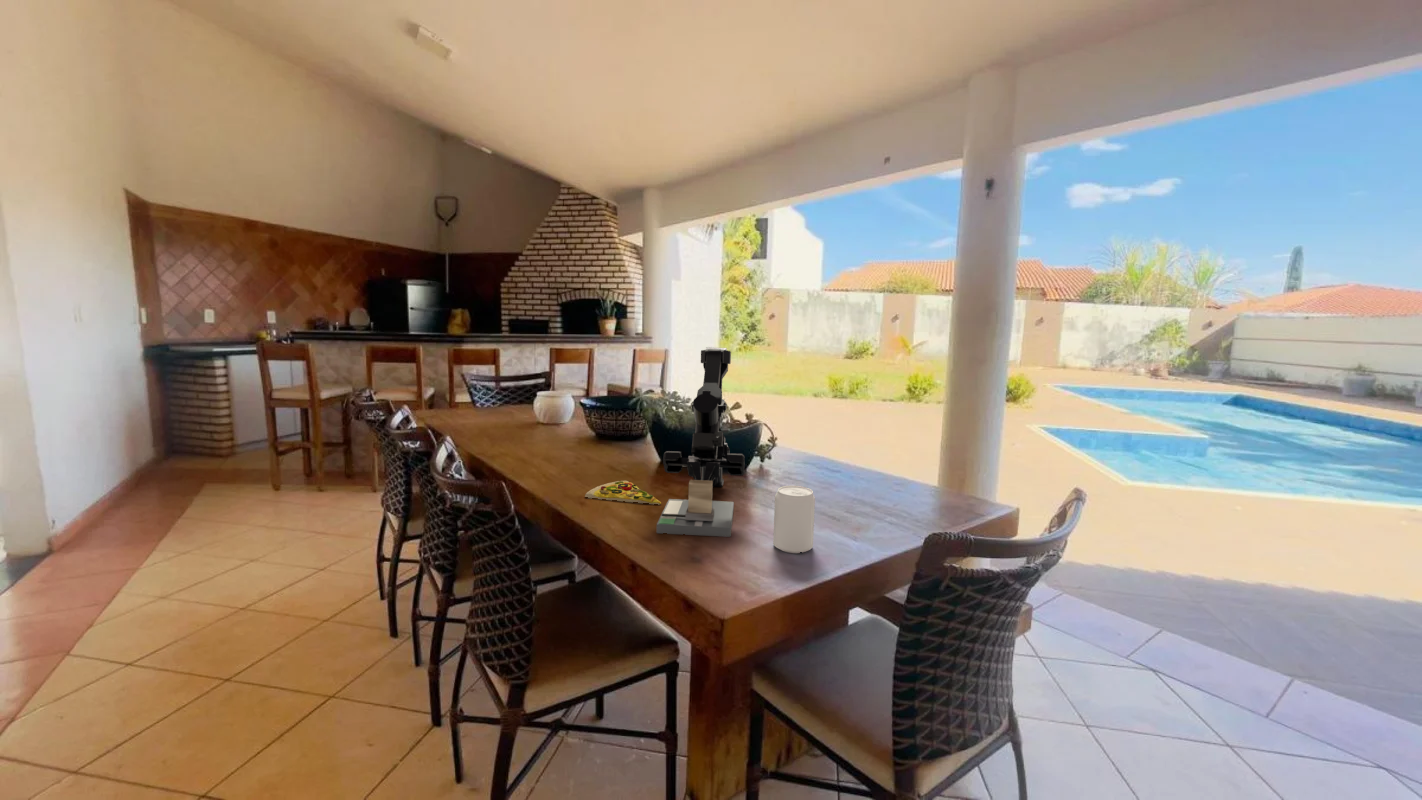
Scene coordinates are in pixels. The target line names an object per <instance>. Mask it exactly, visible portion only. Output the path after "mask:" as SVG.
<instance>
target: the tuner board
mask: <svg viewBox="0 0 1422 800" xmlns="http://www.w3.org/2000/svg"><path fill="white" fill-rule="evenodd" d="M688 500H689V499H678V498H677V499H676V498H675V499H674V498H668V501H667V502H666V504H665V506H664V509H663V510H662V512H661V515H660V516H659V519H658V521H657V522H656V534H663V533H667V534H666V535H683V534H685V535H687V536H688V535H689V536H707V537H708V536H709V537H727V538H730V537H731V536H732V528H733V527H732V526H733V518H734V517H733V516H734V510H735V509H734V507H735V503H734V501H726V500H725V501H721V500H712V508H715V509H714V518H713V521H699V520H685V517H668V516H662V514H682V515H685V514H686V511H687V508H688Z"/></svg>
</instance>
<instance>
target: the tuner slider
mask: <svg viewBox="0 0 1422 800" xmlns="http://www.w3.org/2000/svg"><path fill="white" fill-rule="evenodd" d="M713 487H714V486H713V481H707V480H694V479H689V482H688V499H687V500H688V508H687V511H686V514H685V515H682V514H662V513H661V514H662V516H668V517H685V520H699V521H713V518H714V509H715V508H712V501H713Z"/></svg>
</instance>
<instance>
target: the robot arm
mask: <svg viewBox="0 0 1422 800" xmlns="http://www.w3.org/2000/svg"><path fill="white" fill-rule="evenodd" d="M731 360H732V352H731V350H728V348H727V347H709V346H708V347H705V349H702V350H701V351H700V364H702V367H703V370H704V375H703V376H704V377H703V383H702V384H703V385H702V386H701V387H700V388H699V389H697V392H696V393H697V395H696V397H695V398H694V399H693V402H692V403H691V412H693V413H694V415H693V416H694V422H695V429H694V430H695V431H694V432H693V433H692V444H691V455H688V457H682V456H683V455H682V451H675V450H674V451H672V450H671V451H670V450H666V451H665V452H664V453H663V455H662V456H663V458H662V461H663V462H662V463H663V469H664V472H666V473H667V474H679V473H680V472H682V471H683V467H687V474H688V476H689V477H692V478H693V480H707V481H713V487H717V488H718V487H722V488H723V485H724V481H725V479H724V478H723V468H725V469H727V474H729V475H730V476H739V477H740V476H745V455H744V454H743V453H730V447H729V446H728V445H729V444H728V443H727V442H726V437H725V434H724V431H722V429H721V417H722V416H723V415H722V414H725V412H726V411H727V406H728V405H727V402H726V401H725V399H723V379H724V378H725V376H726V374H727V373H728V371H729V365H731V363H732V362H731Z"/></svg>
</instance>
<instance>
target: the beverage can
mask: <svg viewBox="0 0 1422 800" xmlns="http://www.w3.org/2000/svg"><path fill="white" fill-rule="evenodd" d="M773 509H774V512H773V514H774V515H773V538H772V539H773V540H772V542H773V543H772V544H773V546H774V547H775V548H776V549H779V550H780V551H782V552H785V553H790V554H801V553H800V552H802V553H805V552H808V551H810V550H811V549H813V547H814V531H815V529H814V527H815V509H816V497H815V495H814V491H813V489H811V488H808V487H805V486H800V485H784V486H781V487H779V488H777V492H776V493H775V496H774V508H773Z"/></svg>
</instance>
